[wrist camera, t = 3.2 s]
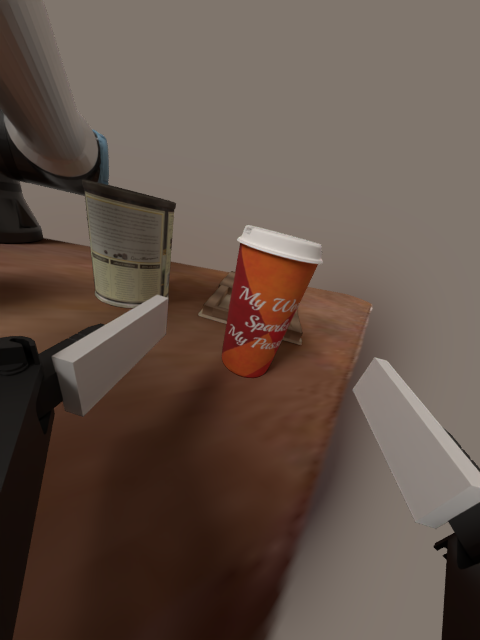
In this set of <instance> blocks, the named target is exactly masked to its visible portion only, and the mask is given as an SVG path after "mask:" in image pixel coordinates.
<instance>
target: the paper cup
mask: <svg viewBox="0 0 480 640" xmlns="http://www.w3.org/2000/svg"><path fill="white" fill-rule="evenodd" d="M238 241H239V242H240V248H239V254H238V259H237V266H236V271H235V277H234V283H233V288H232V293H231V298H230V304H229V311H228V318H227V324H226V331H225V337H224V343H223V350H222V361H223V363H224V365H225V366H226V367H227V368H228V369H229V370H230V371H231V372H233V373H235V374H237V375H239V376H242V377H247V378H255V377H259V376H262V375H263V374H264V373H265V372H266V371H267V369H268V368H269V366H270V364H271V362H272V360H273V358H274V356H275V354H276V352H277V350H278V347H279V345H280V343H281V341H282V339H283V337H284V335H285V333H286V331H287V329H288V327H289V324H290V322H291V320H292V318H293V316H294V314H295V312H296V310H297V308H298V305H299V303H300V301H301V299H302V297H303V295H304V293H305V291H306V289H307V286H308V284H309V282H310V280H311V278H312V276H313V274H314V271H315V270H316V267H317V265H318V264H322V263H323V260H322V259H321V255H322V253H321V252H322V251H321V249H322V245H320V244H318V243H314V242H311V241H308V240H304V239H301V238H297V237H294V236H290V235H286V234H282V233H278V232H275V231H271V230H267V229H263V228H258V227H255V226H250V225H247V226H246V227H245V229H244V231H243V234H242V237H239V238H238Z"/></svg>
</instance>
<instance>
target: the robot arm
mask: <svg viewBox="0 0 480 640" xmlns="http://www.w3.org/2000/svg"><path fill="white" fill-rule="evenodd" d="M108 178H109V160H108V145H107V141H106V138H105V137H104V136H103V135H102V134H99V133H98V132H97V131H95V130H92V129H91V127H90V126H89V124H88V123H87V121H86V120H85V119H84V117H83V116H82V115H81V114H80V113H79V112H78V111H77V108H76V105H75V102H74V98H73V95H72V92H71V89H70V85H69V82H68V79H67V76H66V72H65V69H64V66H63V63H62V59H61V56H60V53H59V50H58V46H57V43H56V40H55V37H54V33H53V30H52V27H51V24H50V20H49V17H48V14H47V10H46V7H45V4H44V1H43V0H0V243H22V242H34V241H39V240H41V239H43V235H42V230H41V227H40V225H39V223H38V222H37V220H36V218H35V216H34V215H33V213H32V211H31V210H30V208H29V206H28V204H27V203H26V201H25V199H24V197H23V194H22V190H21V186H20V181H22V182H26V183H32V184H36V185H40V186H45V187H49V188H53V189H57V190H62V191H66V192H70V193H75V194H79V195H83V196H85V191H84V187H83V184H82V180H89V181H93V182H98V183H102V184H106V185H108ZM168 300H169V298H167V297H163V296H160V295H156V296H154V297H152V298H151V299H149V300H147V301H145V302H144V303H142V304H140V305H139V306H137V307H135V308H133V309H132V310H130V311H128V312H127V313H125V314H123V315H121V316H120V317H118V318H116V319H115V320H113V321H111V322H109V323H108V324H106V325H104V324H98V325H94V326H91V327H88V328H86V329H84V330H82V331H80V332H78V334H75V335H73V336H71V337H69V339H66V340H64V341H62V342H60V343H58V344H56V345H54V346H53V347H51V348H49V349H47V350H45V351H43V352H42V353H40V354H38V351H37V348H36V344H35V341H34V340H32V339H31V338H28V337H23V336H10V337H3V338H0V640H12V638H13V633H14V628H15V622H16V617H17V612H18V606H19V601H20V596H21V590H22V585H23V580H24V574H25V569H26V564H27V558H28V553H29V548H30V542H31V537H32V532H33V526H34V521H35V516H36V510H37V505H38V500H39V494H40V489H41V484H42V479H43V473H44V468H45V463H46V457H47V452H48V447H49V441H50V436H51V431H52V425H53V420H54V415H55V413H54V407H56V406H57V405H58V404H59V403H60V402H62V401H63V405H64V409H65V411H67V412H70V413H73V414H76V415H79V416H82V417H83V416H84V415H85V414H86V413H87V412H88V411H89V410H90V409H91V408H92V407H93V406H94V405H95V404H96V403H97V402H98V401H99V400H100V399H101V398H102V397H103V396H104V395H105V394H106V393H107V392H108V391H109V390H110V389H111V388H112V387H113V386H114V385H115V384H116V383H117V382H119V381H120V380H121V379H122V378H123V377H124V376H125V375H126V374H127V373H128V372H129V371H130V370H131V369H132V368H133V367H134V366H135V365H136V364H137V363H138V362H139V361H140V360H141V359H142V358H143V357H144V356H145V355H146V354H147V353H148V352H149V351H150V350H151V349H152V348H153V347H154V346H155V345H156V344H157V343H158V342H159V341H160V340H161V339H162V338H163V337H164V336H165V335H166V326H167V313H168ZM353 392H354V394H355V396H356V398H357V400H358V402H359V404H360V406H361V409H362V411H363V413H364V415H365V417H366V419H367V421H368V423H369V426H370V428H371V429H372V432H373V434H374V436H375V438H376V440H377V442H378V445H379V446H380V449H381V451H382V453H383V455H384V457H385V459H386V461H387V464H388V465H389V468H390V470H391V472H392V474H393V476H394V478H395V481H396V482H397V485H398V487H399V489H400V491H401V493H402V495H403V497H404V499H405V501H406V504H407V506H408V508H409V510H410V512H411V514H412V516H413V519H414V520H415V522H416V523H419V524H423V525H426V526H429V527H432V528H435V529H436V528H438V527H440V526H441V525H443V524H445V523H447V522H449V523H450V525H451V527H452V529H453V530H454V532H455V533H453V534H451V535H450V536H448V537H446V538H444V539H442V540H440V541H438V542H436V543H435V545H434V548H435V549H436V550H437V551H438V550H439V549H441V548H443V547H445V548H447V553H446V554H444V555H443V557H444V558H445V559H446V560H447V563H446V579H445V595H444V611H443V626H442V640H480V469H479V467H478V466H477V465H476V464H475V462H474V461H473V460H470V457H469V455H468V454H467V453H466V452H465V451H464V450H463V449H461V446H460V445H459V444H458V442H457V441H456V440H455V439H454V438H453V436H452V435H451V434H450V433H449V432H447V431H446V430H445V429H444V428H443V427H442V426H441V425H440V424H439V423H438V422H437V420H436V419H435V418H434V417H433V415H432V414H431V413H430V412H429V411H428V409H427V408H426V407H425V406H424V405H423V404H422V402H421V401H420V400H419V399H418V398H417V396H416V395H415V394H414V393H413V391H412V390H411V389H410V388H409V387H408V385H407V384H406V383H405V382H404V381H403V379H402V378H401V377H400V376H399V375H398V374H397V372H396V371H395V370H394V369H393V367H392V366H391V365H390V364H389V363H388V361H386V360H382V359H379V358H374V359H373V361H372V362H371V364H370V365H369V366H368V368H367V369H366V371H365V372H364V374H363V375H362V377H361V378H360V380H359V381H358V382H357V384H356V385H355V387H354V388H353Z"/></svg>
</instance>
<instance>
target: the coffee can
mask: <svg viewBox="0 0 480 640" xmlns="http://www.w3.org/2000/svg"><path fill="white" fill-rule="evenodd" d="M82 184H83V187H84V191H85V200H86V210H87V220H88V228H89V236H90V246H91V255H92V265H93V274H94V283H95V296H96V297H97V298H98V299H99V300H100V301H102V302H104V303H107V304H109V305H113V306H117V307H123V308H135V307H137V306H139V305H140V304H142V303H144V302H145V301H147V300H149V299H151V298H152V297H154V296H156V295H160V296H163V297H167V298H168V297H169V296H168V289H169V275H170V260H171V247H172V233H173V219H174V209H175V207H176V203H174V202H171V201H167V200H164V199H161V198H156V197H153V196H149V195H146V194H142V193H137V192H134V191H130V190H126V189H122V188H118V187H114V186H110V185H106V184H102V183H98V182H93V181H89V180H82Z"/></svg>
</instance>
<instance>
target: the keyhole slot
mask: <svg viewBox="0 0 480 640" xmlns="http://www.w3.org/2000/svg"><path fill="white" fill-rule="evenodd" d="M234 277H235V272H233V271H231V272H230V273H229V274H228V275H227V276H226V277H225V278H224V279H223V281H222V282H221V283H220V284H219V286H218V289H217V290H216V291H215V293H214V294H213V295H212V296H211V297H210V298H209V299H208V300H207V301H206V303H205V304H204V305H203V309H202V310H201V311H200V312H199V315H198V316H201V317H204V318H208V319H211V320H215V321H218V322H222V323H225V324H227V318H228V311H229V304H230V298H231V293H232V288H233V283H234ZM302 334H303V332H302V329H301V325H300V321H299V317H298V314H297V310H296V312H295V314H294V316H293V318H292V320H291V322H290V324H289V327H288V329H287V331H286V333H285V335H284V337H283V339H282V340H284V341H288V342H291V343H295V344H298V345H301V344H302V340H301V336H302Z"/></svg>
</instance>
